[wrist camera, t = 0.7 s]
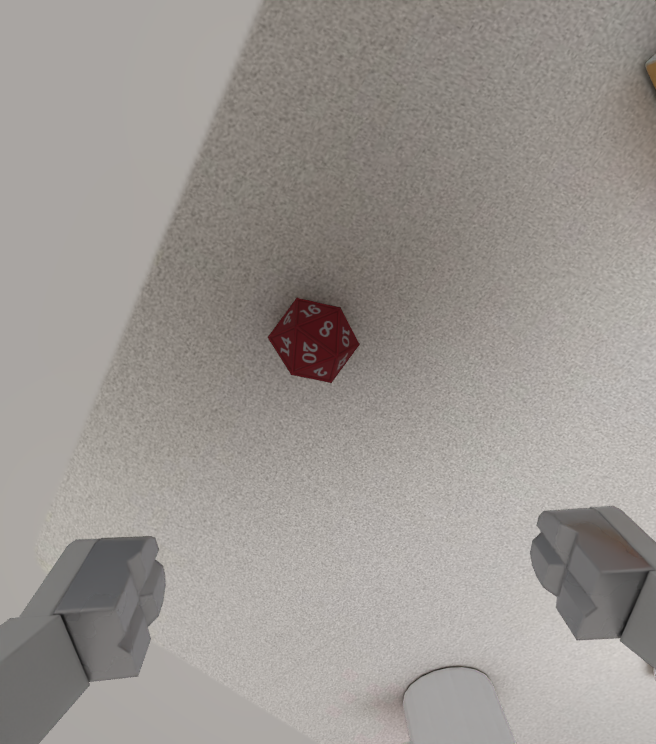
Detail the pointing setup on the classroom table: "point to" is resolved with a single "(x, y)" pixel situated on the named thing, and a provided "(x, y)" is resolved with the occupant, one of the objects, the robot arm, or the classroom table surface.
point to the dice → (314, 340)
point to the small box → (652, 69)
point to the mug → (455, 709)
